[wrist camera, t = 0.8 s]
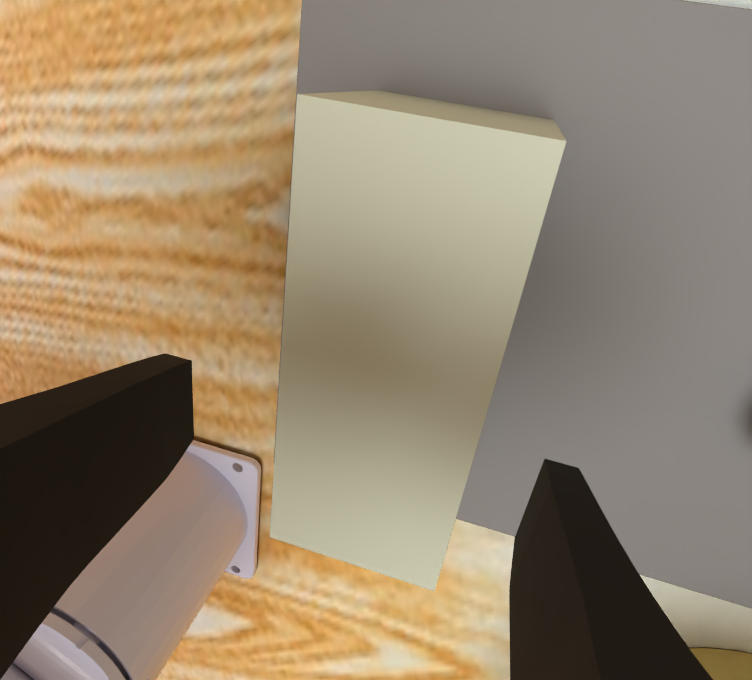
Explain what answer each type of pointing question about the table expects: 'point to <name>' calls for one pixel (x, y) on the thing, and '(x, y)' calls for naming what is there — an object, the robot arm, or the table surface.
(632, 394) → the mounting board
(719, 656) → the potted cactus
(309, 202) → the pale green block
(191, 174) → the table surface
